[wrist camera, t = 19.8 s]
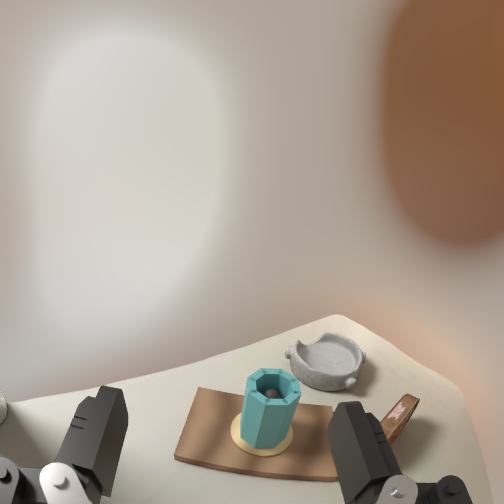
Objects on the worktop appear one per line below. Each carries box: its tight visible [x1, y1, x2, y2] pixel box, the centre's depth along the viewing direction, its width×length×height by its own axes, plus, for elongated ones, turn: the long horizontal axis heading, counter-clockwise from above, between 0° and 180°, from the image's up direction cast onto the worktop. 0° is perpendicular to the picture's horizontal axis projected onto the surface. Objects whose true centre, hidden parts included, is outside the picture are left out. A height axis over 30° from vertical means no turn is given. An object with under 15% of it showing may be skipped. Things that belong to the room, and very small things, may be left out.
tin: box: [380, 394, 420, 445], centre depth 37 cm, size 15×3×8 cm, turn 129°
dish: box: [285, 332, 366, 391], centre depth 54 cm, size 14×14×5 cm
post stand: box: [174, 387, 338, 481], centre depth 37 cm, size 22×14×11 cm, turn 83°
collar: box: [240, 368, 301, 449], centre depth 37 cm, size 6×6×10 cm
